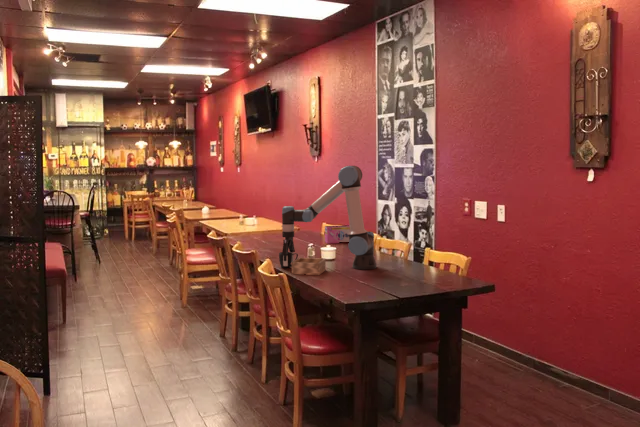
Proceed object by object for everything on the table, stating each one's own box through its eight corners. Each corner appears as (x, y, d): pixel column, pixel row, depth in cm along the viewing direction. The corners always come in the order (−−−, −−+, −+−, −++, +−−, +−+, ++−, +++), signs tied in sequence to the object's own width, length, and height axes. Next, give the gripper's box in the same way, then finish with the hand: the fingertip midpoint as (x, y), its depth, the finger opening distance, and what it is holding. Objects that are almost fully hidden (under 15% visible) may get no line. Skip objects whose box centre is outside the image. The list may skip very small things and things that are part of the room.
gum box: (352, 241, 492) (352, 225, 491) (355, 242, 484) (355, 226, 483) (324, 242, 485) (324, 225, 484) (327, 243, 478) (327, 227, 477)
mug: (299, 268, 371) (298, 253, 370) (280, 269, 368) (279, 254, 367) (296, 266, 379) (296, 251, 378) (278, 266, 376) (278, 252, 375)
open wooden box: (325, 269, 366) (325, 258, 365) (319, 275, 349) (319, 263, 349) (299, 268, 370) (298, 257, 369) (291, 274, 353) (291, 262, 352)
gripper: (287, 228, 384) (288, 260, 386) (276, 233, 360) (277, 267, 362) (299, 228, 383) (299, 260, 385) (288, 233, 358) (288, 267, 360)
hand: (288, 264), depth 373 cm, fingers open, 13 cm apart
